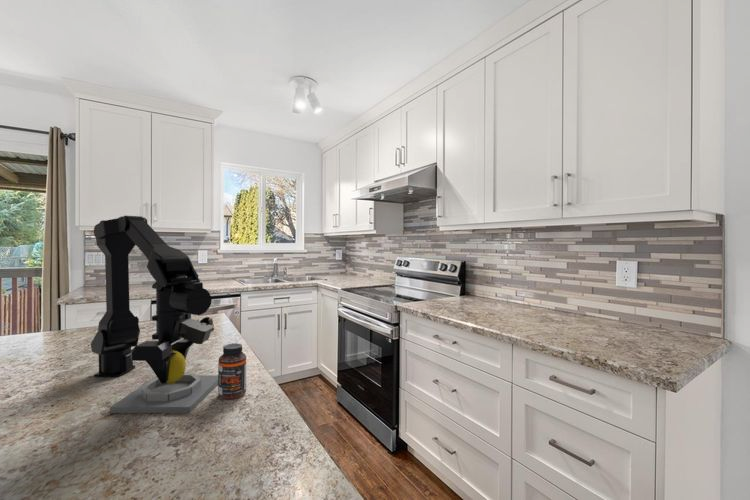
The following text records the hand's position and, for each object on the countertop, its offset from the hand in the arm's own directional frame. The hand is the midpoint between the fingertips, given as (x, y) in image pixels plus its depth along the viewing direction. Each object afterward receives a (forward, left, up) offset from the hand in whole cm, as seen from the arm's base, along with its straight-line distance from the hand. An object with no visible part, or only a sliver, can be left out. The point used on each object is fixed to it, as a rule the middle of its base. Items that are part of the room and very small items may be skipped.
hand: (171, 377), depth 77 cm
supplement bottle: (+14, 0, -4) cm, 14 cm away
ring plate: (0, 0, -4) cm, 4 cm away
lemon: (0, 0, -2) cm, 2 cm away
